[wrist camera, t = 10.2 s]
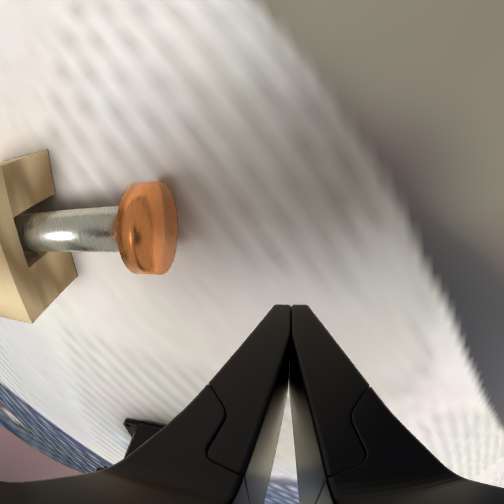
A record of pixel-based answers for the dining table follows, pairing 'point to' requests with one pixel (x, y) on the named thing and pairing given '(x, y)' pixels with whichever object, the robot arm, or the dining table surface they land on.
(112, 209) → the pin
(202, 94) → the dining table surface
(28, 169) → the mount
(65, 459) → the dining table surface
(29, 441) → the dining table surface
